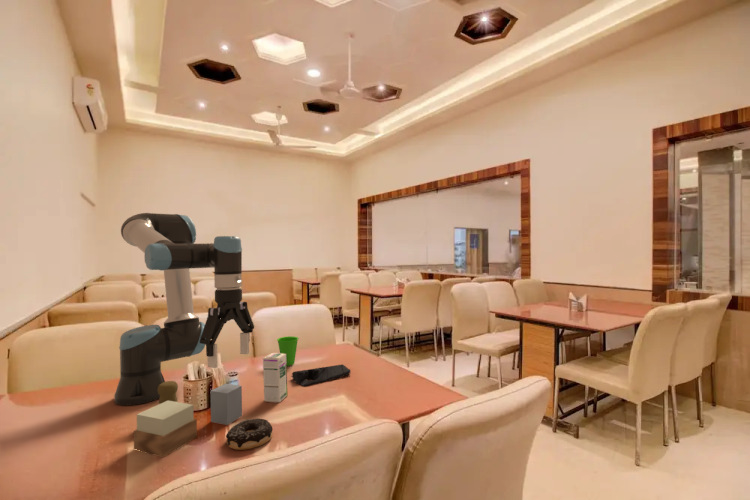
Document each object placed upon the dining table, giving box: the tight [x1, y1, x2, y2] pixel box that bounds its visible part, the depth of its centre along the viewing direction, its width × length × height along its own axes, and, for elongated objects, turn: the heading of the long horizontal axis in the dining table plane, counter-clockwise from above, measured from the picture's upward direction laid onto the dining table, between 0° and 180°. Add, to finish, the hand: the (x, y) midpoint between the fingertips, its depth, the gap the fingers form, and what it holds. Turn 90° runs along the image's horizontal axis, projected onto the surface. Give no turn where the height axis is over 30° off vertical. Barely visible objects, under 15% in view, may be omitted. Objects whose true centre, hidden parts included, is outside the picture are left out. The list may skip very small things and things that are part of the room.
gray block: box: [210, 383, 243, 426], centre depth 109 cm, size 6×6×9 cm
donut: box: [225, 417, 274, 451], centre depth 96 cm, size 11×12×4 cm
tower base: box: [133, 418, 198, 458], centre depth 95 cm, size 10×10×5 cm
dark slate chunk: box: [291, 363, 351, 387], centre depth 144 cm, size 15×22×5 cm
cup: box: [276, 336, 300, 367], centre depth 160 cm, size 9×9×11 cm
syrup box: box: [262, 352, 288, 403], centre depth 123 cm, size 6×6×14 cm
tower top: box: [136, 400, 195, 436], centre depth 95 cm, size 9×9×4 cm
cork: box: [158, 380, 179, 405], centre depth 109 cm, size 6×6×11 cm
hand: (229, 360), depth 110 cm, fingers open, 13 cm apart
